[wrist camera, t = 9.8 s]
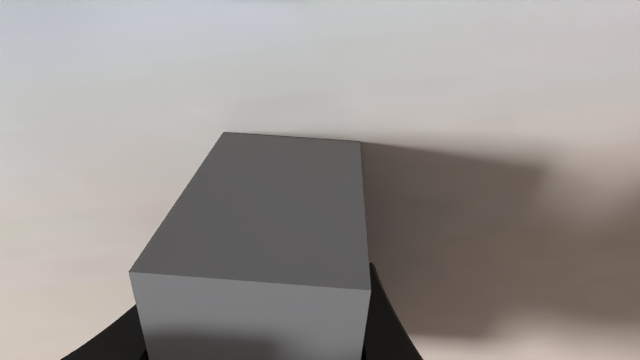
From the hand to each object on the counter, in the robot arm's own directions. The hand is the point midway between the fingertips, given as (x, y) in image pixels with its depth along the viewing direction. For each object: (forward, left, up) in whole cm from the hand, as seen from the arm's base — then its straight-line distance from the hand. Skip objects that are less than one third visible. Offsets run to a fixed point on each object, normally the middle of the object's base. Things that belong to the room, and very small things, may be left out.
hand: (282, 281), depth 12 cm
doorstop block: (0, 0, -2) cm, 2 cm away
